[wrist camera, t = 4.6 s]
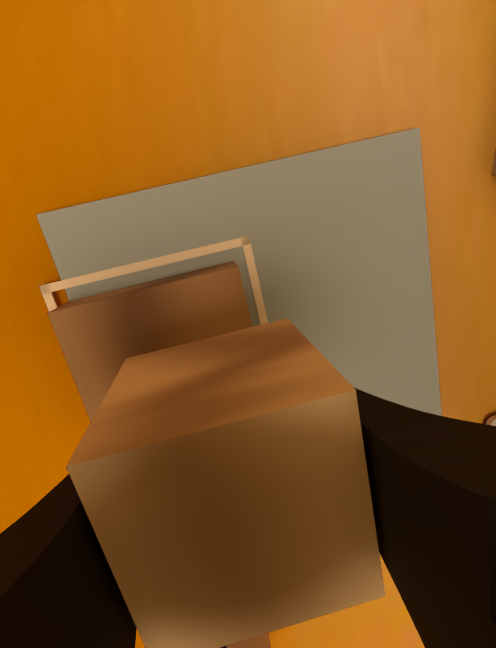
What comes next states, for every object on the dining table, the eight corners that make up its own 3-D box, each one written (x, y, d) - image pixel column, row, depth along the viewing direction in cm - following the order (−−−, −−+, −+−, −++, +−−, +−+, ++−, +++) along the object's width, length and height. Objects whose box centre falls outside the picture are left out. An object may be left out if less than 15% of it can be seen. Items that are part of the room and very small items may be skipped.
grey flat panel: (413, 130, 17) (420, 126, 17) (436, 414, 22) (443, 419, 21) (18, 219, 16) (12, 219, 16) (130, 500, 21) (128, 508, 20)
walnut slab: (233, 261, 17) (238, 266, 15) (267, 404, 20) (276, 428, 17) (69, 300, 17) (47, 313, 14) (123, 442, 19) (112, 473, 17)
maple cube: (287, 318, 11) (355, 389, 6) (313, 453, 12) (385, 596, 8) (125, 358, 11) (66, 466, 6) (172, 492, 12) (154, 667, 7)
